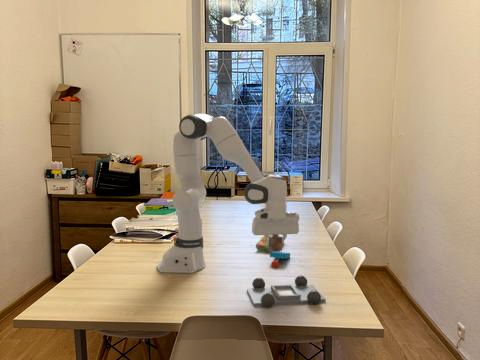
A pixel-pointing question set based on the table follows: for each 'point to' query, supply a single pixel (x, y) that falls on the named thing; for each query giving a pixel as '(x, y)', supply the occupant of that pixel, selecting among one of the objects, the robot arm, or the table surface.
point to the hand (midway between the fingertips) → (275, 244)
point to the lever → (278, 255)
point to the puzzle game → (264, 245)
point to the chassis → (284, 293)
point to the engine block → (275, 242)
